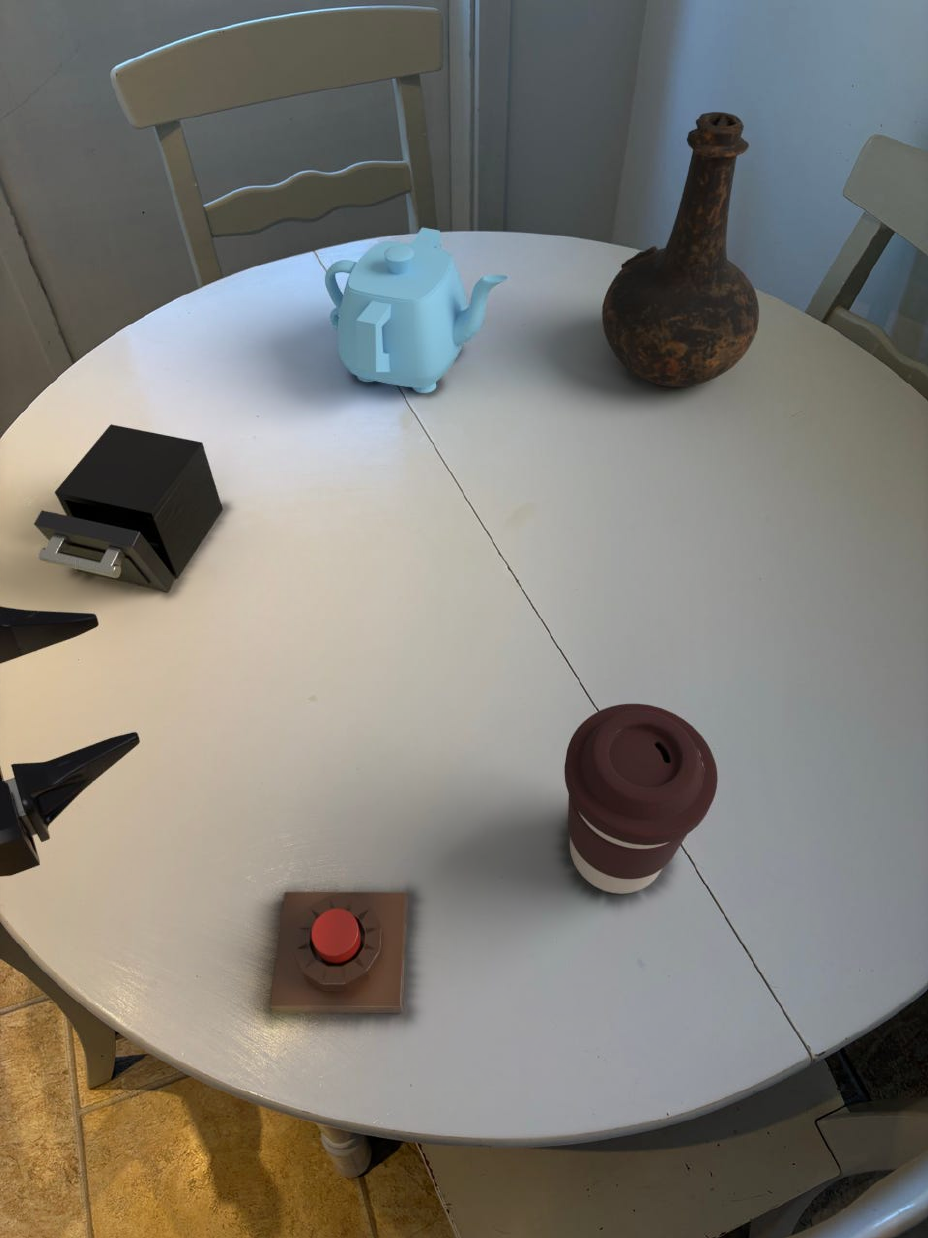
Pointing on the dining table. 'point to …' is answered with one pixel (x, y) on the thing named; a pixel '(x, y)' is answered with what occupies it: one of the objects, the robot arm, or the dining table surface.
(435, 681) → the dining table surface
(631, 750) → the coffee cup
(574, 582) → the dining table surface
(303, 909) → the control block
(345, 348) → the teapot
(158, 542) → the oven
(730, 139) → the glass bottle
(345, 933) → the button
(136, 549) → the oven door
